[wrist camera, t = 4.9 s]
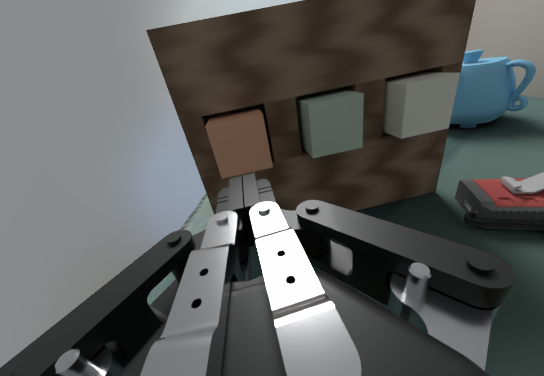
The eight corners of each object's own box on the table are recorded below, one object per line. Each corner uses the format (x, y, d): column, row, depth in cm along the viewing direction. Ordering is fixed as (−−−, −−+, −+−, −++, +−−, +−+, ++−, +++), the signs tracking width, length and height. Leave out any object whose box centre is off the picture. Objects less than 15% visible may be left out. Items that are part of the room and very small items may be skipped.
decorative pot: (487, 108, 53) (506, 42, 47) (528, 128, 40) (561, 39, 34) (409, 115, 59) (416, 57, 53) (422, 134, 46) (434, 60, 40)
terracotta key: (267, 152, 25) (258, 106, 23) (272, 167, 21) (262, 114, 19) (223, 161, 25) (210, 116, 23) (221, 178, 21) (205, 126, 19)
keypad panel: (406, 174, 34) (431, -12, 23) (435, 191, 29) (482, -34, 18) (226, 216, 33) (165, 39, 22) (224, 241, 28) (146, 30, 17)
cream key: (416, 119, 26) (423, 72, 24) (448, 128, 22) (460, 72, 20) (375, 128, 26) (378, 81, 24) (401, 138, 22) (407, 83, 20)
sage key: (342, 135, 26) (341, 89, 23) (362, 147, 22) (363, 93, 19) (301, 144, 26) (295, 99, 23) (313, 158, 22) (308, 104, 19)
